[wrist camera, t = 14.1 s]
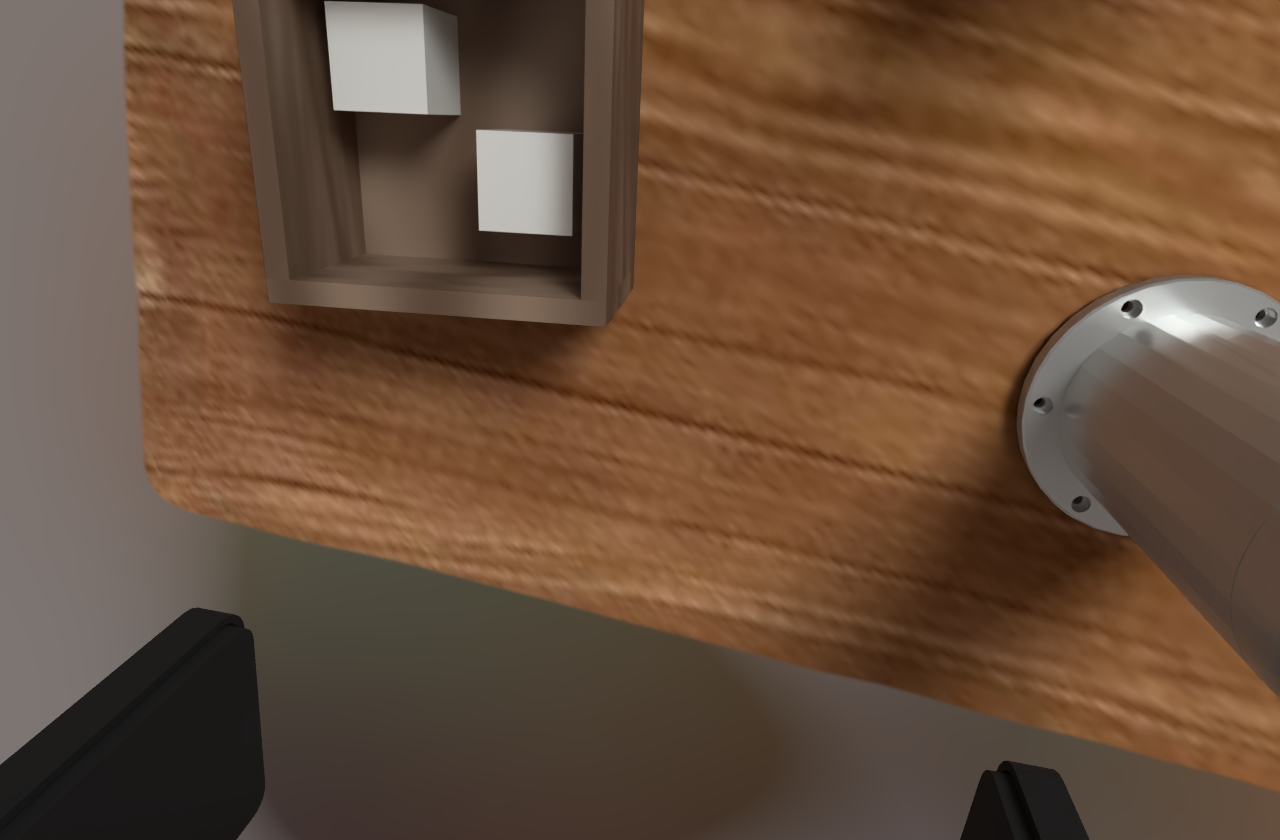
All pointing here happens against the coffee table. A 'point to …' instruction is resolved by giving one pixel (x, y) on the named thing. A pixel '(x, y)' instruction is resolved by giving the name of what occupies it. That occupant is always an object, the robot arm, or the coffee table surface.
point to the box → (444, 164)
